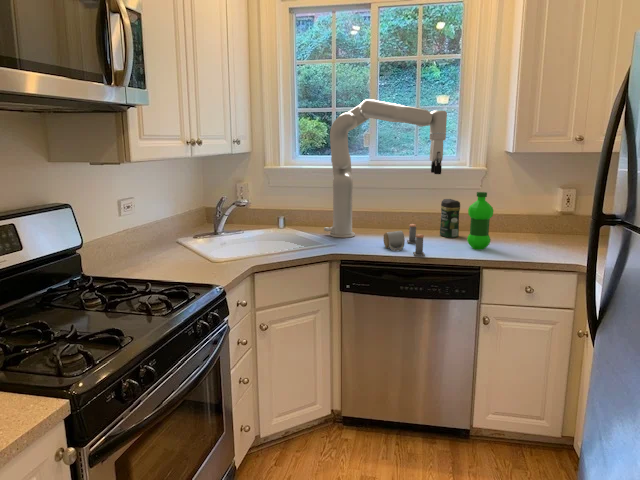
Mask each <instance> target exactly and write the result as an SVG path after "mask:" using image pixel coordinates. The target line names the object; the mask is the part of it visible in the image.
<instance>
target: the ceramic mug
mask: <svg viewBox="0 0 640 480" xmlns="http://www.w3.org/2000/svg"><path fill="white" fill-rule="evenodd" d="M405 238H406V237H405V234H404V232H403V230H397V231H396V230H395V231H387V232H385V233H384V234H383V245H384V248H386V249H390V250H391V251H394V252H400V251H402V250H403V248H404V247H405V243H406V241H405Z"/></svg>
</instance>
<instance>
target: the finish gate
mask: <svg viewBox="0 0 640 480" xmlns="http://www.w3.org/2000/svg"><path fill="white" fill-rule="evenodd" d="M408 235H409V237H408V239H406V242H407V244H408V245H409V244H414V245H415V251H413V252H412V255H413V254H414V255H413V256H414V257H425V256H426V254H425V252H424V234H417V224H416V223H415V224H414V223H410V224H409V234H408Z"/></svg>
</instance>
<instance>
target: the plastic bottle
mask: <svg viewBox="0 0 640 480" xmlns="http://www.w3.org/2000/svg"><path fill="white" fill-rule="evenodd" d="M476 197H477V200H476V201H474V202H473V203H471V204H470V205H469V207H468V209H467V213H468V216H469V218H470V222H469V223H470V225H469V234H468V235H467V239H466V241H467V243H468V244H469V246H470V247H471V249H472V250H476V251H477V250H485V249H486V248H487V247H488V246H489V245H490V243H491V236H490V234H489V233H490V221H491V220H490V219H492V217H493V216H494V208H493V206H492V205H491V204H490V203H489V202H488V201H487V200H486V198H487V197H488V192H487V191H477V192H476Z"/></svg>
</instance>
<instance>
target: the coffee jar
mask: <svg viewBox="0 0 640 480" xmlns="http://www.w3.org/2000/svg"><path fill="white" fill-rule="evenodd" d="M440 211H441V213H440V227H439V236H442V237H444V238H451V239H453V238H454V239H456V238H458V237H459V235H460V234H459V233H460V229H459V228H460V226H459V225H460V211H461V202H460V201H459V200H456V199H453V198H443V200H441V204H440Z"/></svg>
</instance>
